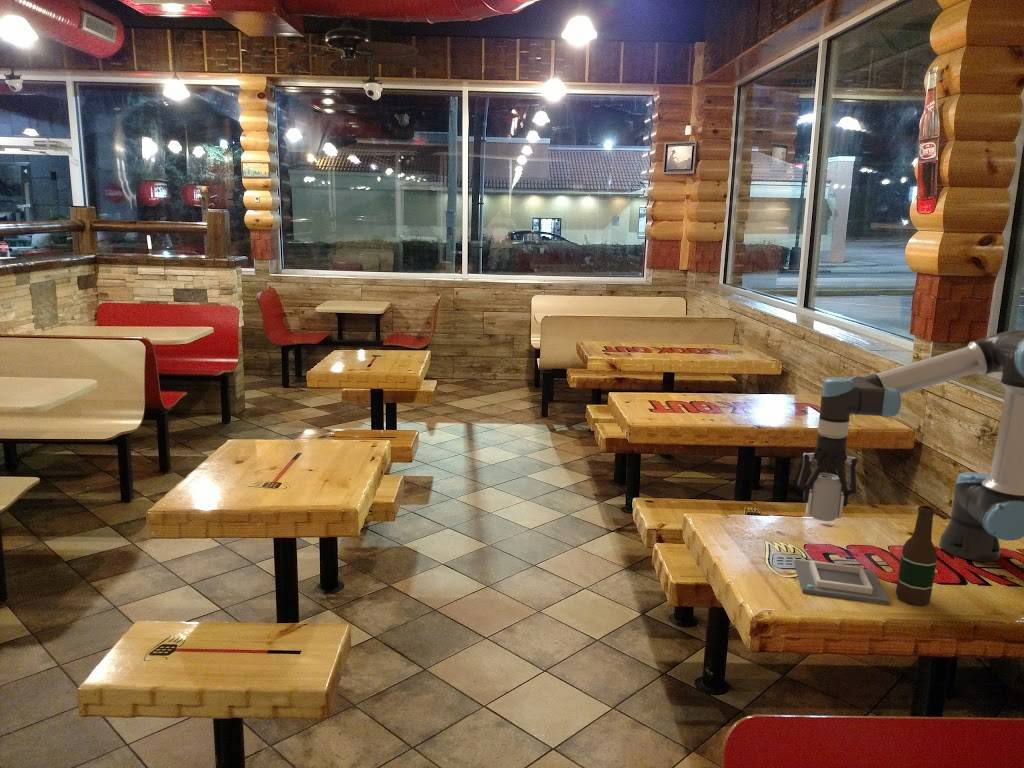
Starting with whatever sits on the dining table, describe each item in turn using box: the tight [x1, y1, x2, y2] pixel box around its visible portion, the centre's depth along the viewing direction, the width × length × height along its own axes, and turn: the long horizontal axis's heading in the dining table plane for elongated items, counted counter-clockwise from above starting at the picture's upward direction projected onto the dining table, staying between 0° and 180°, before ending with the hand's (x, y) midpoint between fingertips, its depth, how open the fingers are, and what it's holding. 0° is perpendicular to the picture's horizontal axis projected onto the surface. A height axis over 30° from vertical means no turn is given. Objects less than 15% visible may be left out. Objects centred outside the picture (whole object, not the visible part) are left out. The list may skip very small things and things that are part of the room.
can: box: [810, 472, 842, 522], centre depth 213 cm, size 8×8×12 cm
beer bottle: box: [895, 505, 938, 607], centre depth 189 cm, size 8×8×24 cm
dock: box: [793, 559, 891, 605], centre depth 199 cm, size 20×18×2 cm
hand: (823, 514), depth 214 cm, fingers closed on can, 7 cm apart
